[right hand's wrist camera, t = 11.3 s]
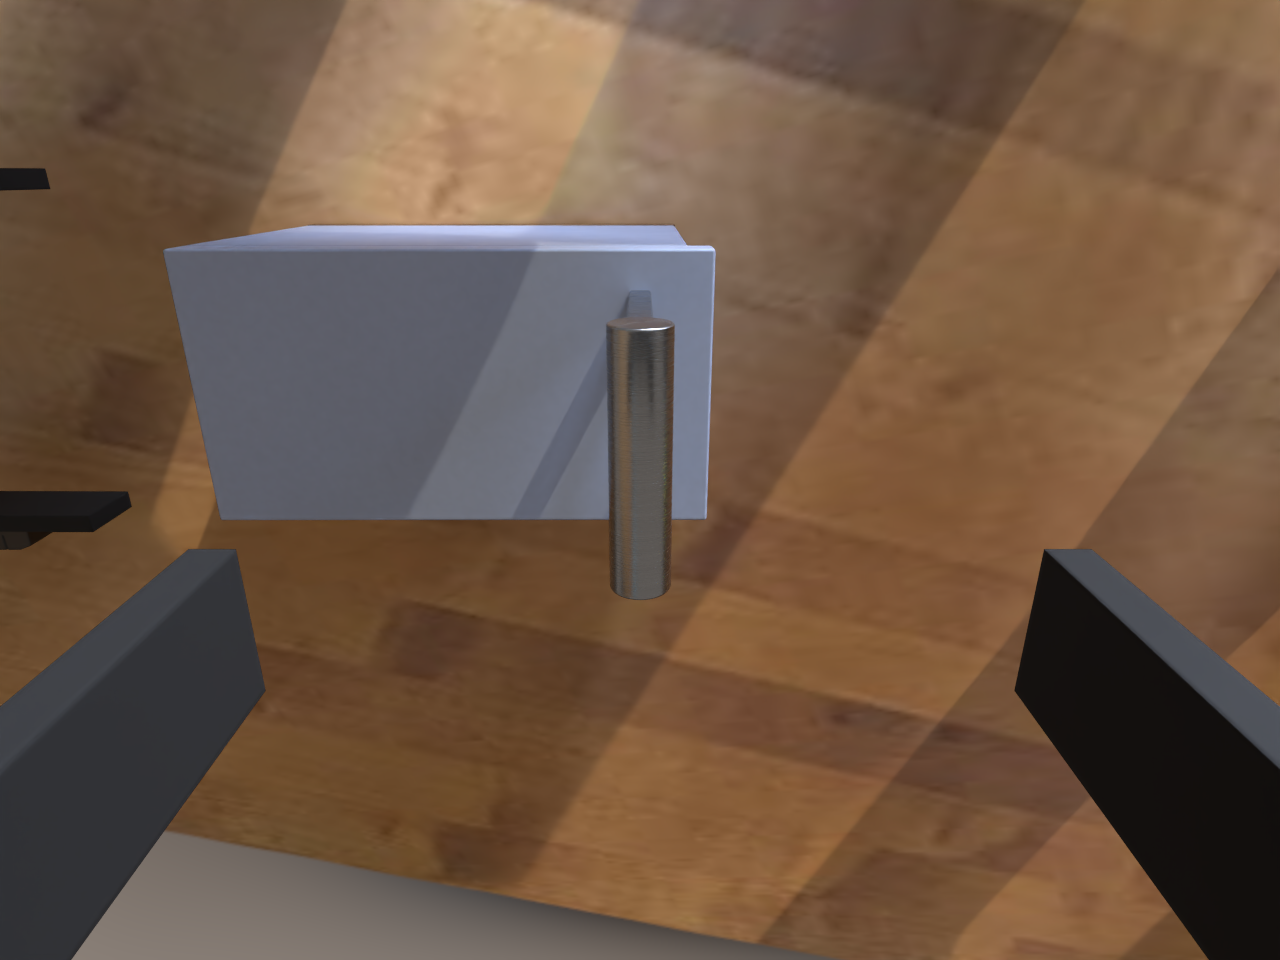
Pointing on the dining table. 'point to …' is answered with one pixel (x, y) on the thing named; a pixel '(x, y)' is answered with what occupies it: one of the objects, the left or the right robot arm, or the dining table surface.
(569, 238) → the chest
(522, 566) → the dining table surface
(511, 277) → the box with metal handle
